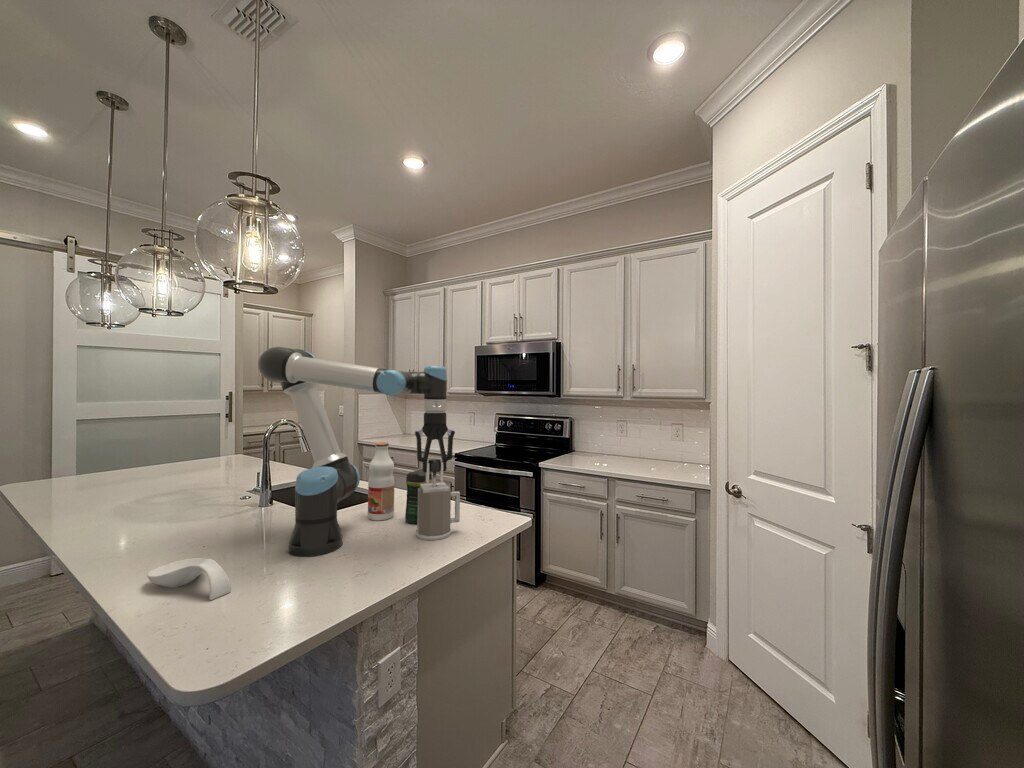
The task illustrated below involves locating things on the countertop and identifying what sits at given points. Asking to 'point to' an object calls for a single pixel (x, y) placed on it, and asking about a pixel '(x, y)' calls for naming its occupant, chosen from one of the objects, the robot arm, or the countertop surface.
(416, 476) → the coffee jar
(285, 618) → the countertop surface
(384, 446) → the fruit juice
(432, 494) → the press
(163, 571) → the spoon rest
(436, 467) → the plunger
